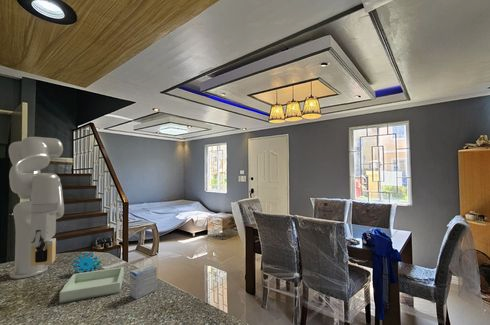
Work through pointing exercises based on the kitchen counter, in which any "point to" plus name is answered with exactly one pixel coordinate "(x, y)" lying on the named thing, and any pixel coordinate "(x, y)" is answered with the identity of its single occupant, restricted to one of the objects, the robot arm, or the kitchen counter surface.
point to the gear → (86, 263)
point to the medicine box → (143, 281)
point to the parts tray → (92, 284)
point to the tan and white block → (50, 252)
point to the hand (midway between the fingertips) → (43, 259)
